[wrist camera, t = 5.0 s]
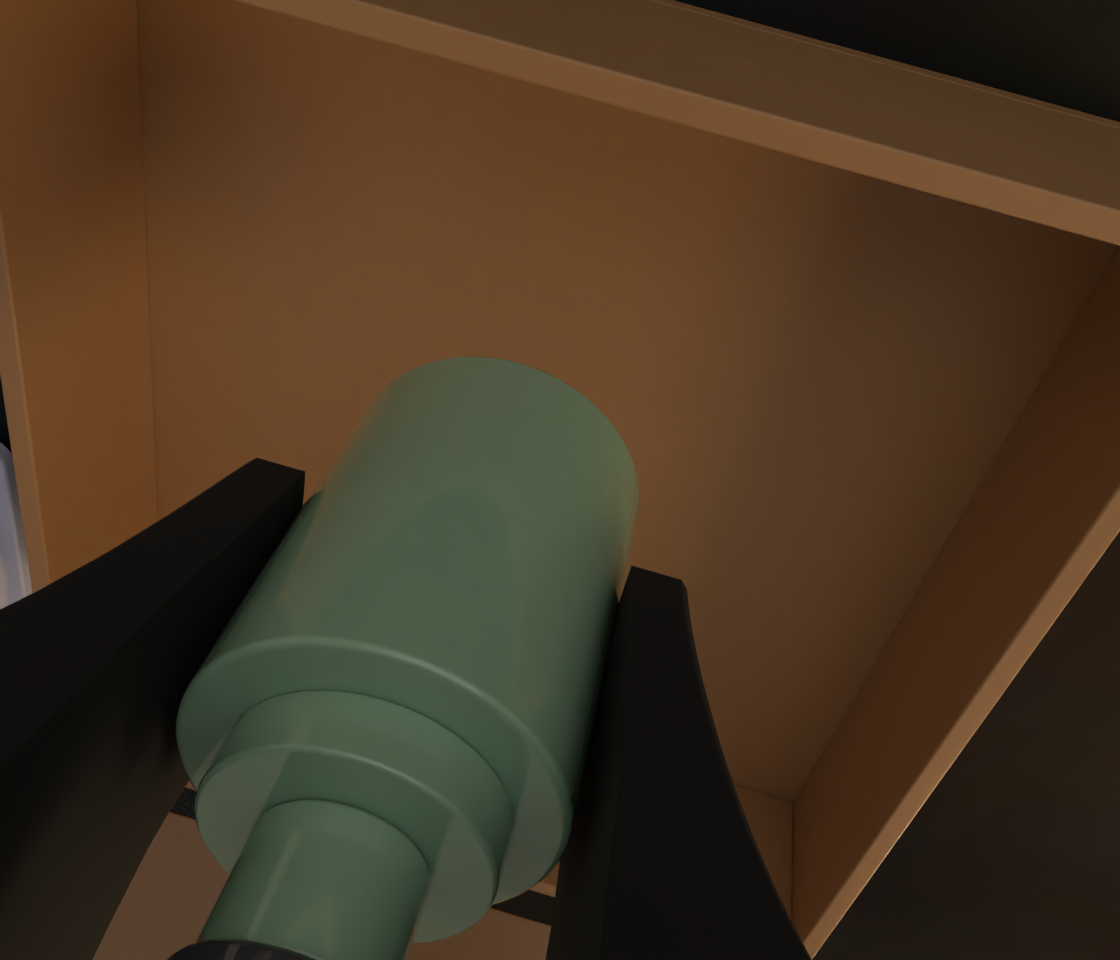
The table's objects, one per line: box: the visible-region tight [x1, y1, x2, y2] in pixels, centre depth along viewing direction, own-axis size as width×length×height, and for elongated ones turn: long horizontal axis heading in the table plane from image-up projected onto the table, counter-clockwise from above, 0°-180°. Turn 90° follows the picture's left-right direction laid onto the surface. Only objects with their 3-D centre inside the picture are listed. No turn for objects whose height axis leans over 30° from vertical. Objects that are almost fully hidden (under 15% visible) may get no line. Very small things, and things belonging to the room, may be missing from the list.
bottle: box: [167, 356, 639, 960], centre depth 11 cm, size 4×4×8 cm
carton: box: [0, 0, 1120, 959], centre depth 19 cm, size 17×17×4 cm
